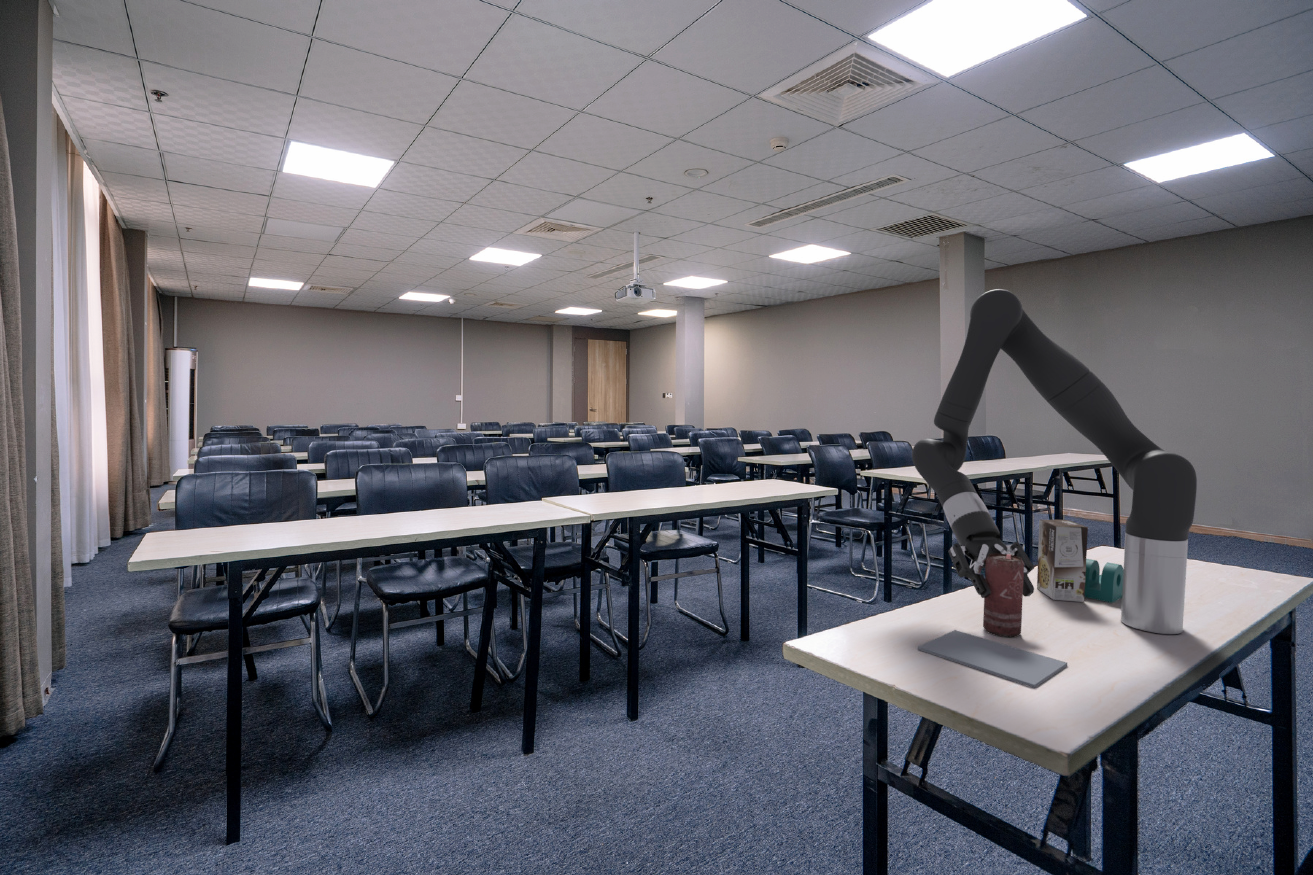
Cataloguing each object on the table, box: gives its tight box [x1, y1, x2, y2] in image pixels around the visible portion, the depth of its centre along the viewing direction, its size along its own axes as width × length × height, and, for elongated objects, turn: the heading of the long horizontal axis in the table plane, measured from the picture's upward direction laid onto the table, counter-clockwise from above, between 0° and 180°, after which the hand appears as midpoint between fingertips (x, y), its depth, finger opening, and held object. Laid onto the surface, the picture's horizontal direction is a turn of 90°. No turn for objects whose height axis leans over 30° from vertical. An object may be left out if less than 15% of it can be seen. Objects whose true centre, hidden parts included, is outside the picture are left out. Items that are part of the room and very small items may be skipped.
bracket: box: [1084, 558, 1124, 604], centre depth 140 cm, size 18×7×8 cm, turn 128°
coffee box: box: [1036, 519, 1089, 603], centre depth 137 cm, size 9×6×16 cm
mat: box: [917, 629, 1068, 689], centre depth 103 cm, size 13×18×1 cm
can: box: [982, 554, 1025, 638], centre depth 114 cm, size 6×6×14 cm
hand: (1008, 595), depth 113 cm, fingers open, 8 cm apart
